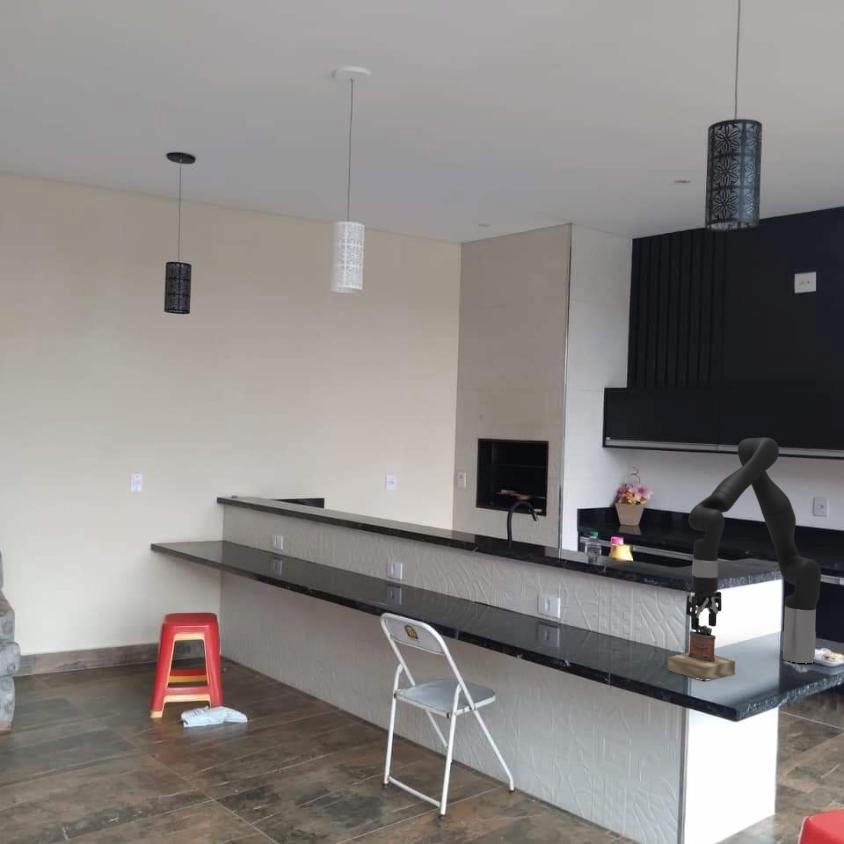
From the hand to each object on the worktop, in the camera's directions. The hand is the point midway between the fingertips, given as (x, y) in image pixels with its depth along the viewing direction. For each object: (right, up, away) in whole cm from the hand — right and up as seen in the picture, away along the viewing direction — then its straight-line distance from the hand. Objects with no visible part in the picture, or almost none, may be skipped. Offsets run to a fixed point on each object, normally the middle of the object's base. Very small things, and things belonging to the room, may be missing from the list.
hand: (703, 627), depth 270 cm
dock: (-1, -14, 0) cm, 14 cm away
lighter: (-1, -10, 0) cm, 10 cm away
